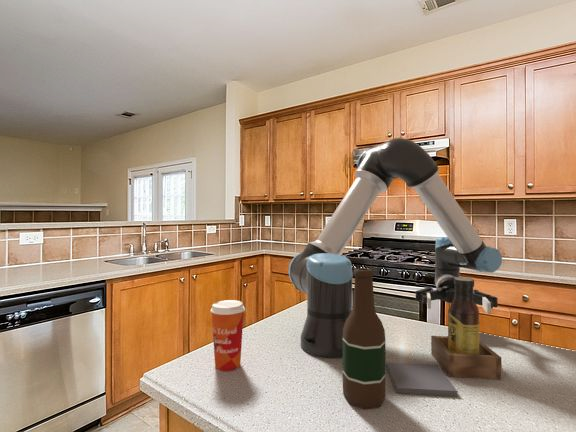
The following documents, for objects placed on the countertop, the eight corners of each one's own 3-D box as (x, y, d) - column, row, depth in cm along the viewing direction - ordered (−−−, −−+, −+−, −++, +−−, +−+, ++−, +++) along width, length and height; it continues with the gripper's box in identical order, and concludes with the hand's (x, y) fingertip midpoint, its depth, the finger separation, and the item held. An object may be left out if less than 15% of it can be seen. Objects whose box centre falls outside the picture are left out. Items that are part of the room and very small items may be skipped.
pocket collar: (448, 376, 69) (448, 355, 69) (431, 353, 80) (431, 335, 80) (501, 379, 68) (501, 357, 68) (476, 356, 79) (476, 337, 79)
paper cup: (203, 370, 72) (203, 306, 72) (222, 356, 79) (222, 298, 79) (234, 376, 69) (234, 310, 69) (251, 361, 76) (251, 301, 76)
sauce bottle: (447, 357, 78) (447, 274, 78) (476, 362, 76) (476, 276, 76) (449, 369, 72) (449, 279, 72) (481, 374, 70) (481, 281, 70)
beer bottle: (387, 412, 56) (387, 273, 56) (341, 407, 58) (341, 271, 58) (383, 389, 64) (383, 266, 64) (343, 385, 65) (343, 265, 65)
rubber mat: (396, 392, 62) (396, 387, 62) (386, 366, 73) (386, 362, 73) (457, 396, 61) (457, 391, 61) (437, 369, 72) (437, 364, 72)
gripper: (496, 304, 98) (516, 326, 78) (407, 297, 107) (406, 315, 88) (496, 279, 98) (516, 295, 78) (407, 274, 107) (406, 287, 88)
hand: (458, 306), depth 83 cm, fingers open, 13 cm apart
